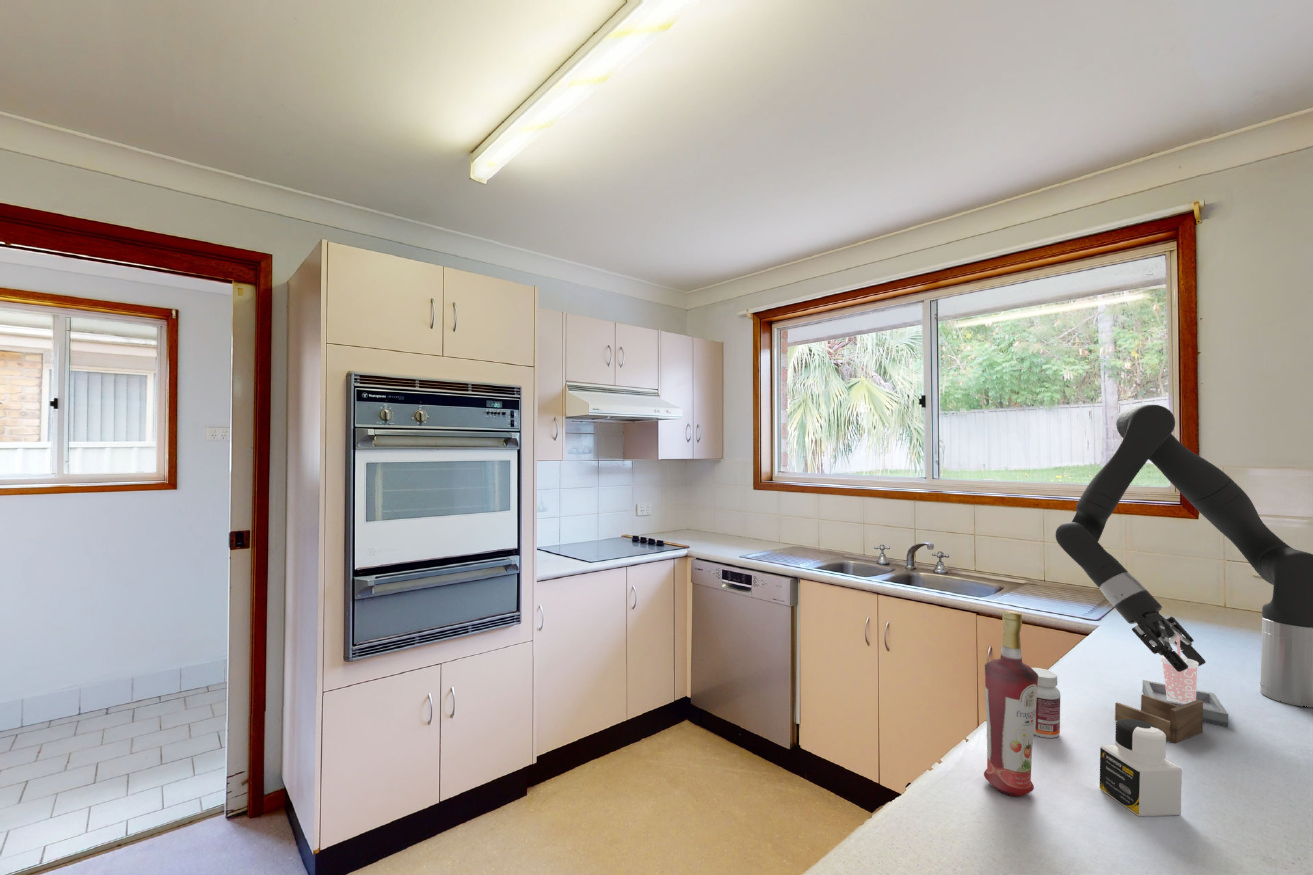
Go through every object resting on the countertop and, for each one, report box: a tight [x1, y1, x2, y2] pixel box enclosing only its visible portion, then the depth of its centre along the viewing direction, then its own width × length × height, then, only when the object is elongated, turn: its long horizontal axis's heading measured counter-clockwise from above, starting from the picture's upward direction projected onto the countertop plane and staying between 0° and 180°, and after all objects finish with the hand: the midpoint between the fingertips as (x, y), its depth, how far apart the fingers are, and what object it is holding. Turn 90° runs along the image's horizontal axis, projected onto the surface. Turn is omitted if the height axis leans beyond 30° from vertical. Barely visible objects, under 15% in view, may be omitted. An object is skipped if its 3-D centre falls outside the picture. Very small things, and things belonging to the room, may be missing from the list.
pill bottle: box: [1031, 667, 1061, 739], centre depth 114 cm, size 6×6×11 cm
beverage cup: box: [1160, 636, 1200, 704], centre depth 126 cm, size 6×6×14 cm
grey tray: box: [1141, 679, 1229, 728], centre depth 126 cm, size 12×12×2 cm
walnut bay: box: [1114, 693, 1204, 744], centre depth 117 cm, size 10×11×6 cm
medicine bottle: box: [1099, 719, 1183, 817], centre depth 92 cm, size 7×7×12 cm
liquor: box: [983, 610, 1038, 798], centre depth 94 cm, size 7×7×28 cm
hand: (1192, 667), depth 124 cm, fingers open, 6 cm apart
